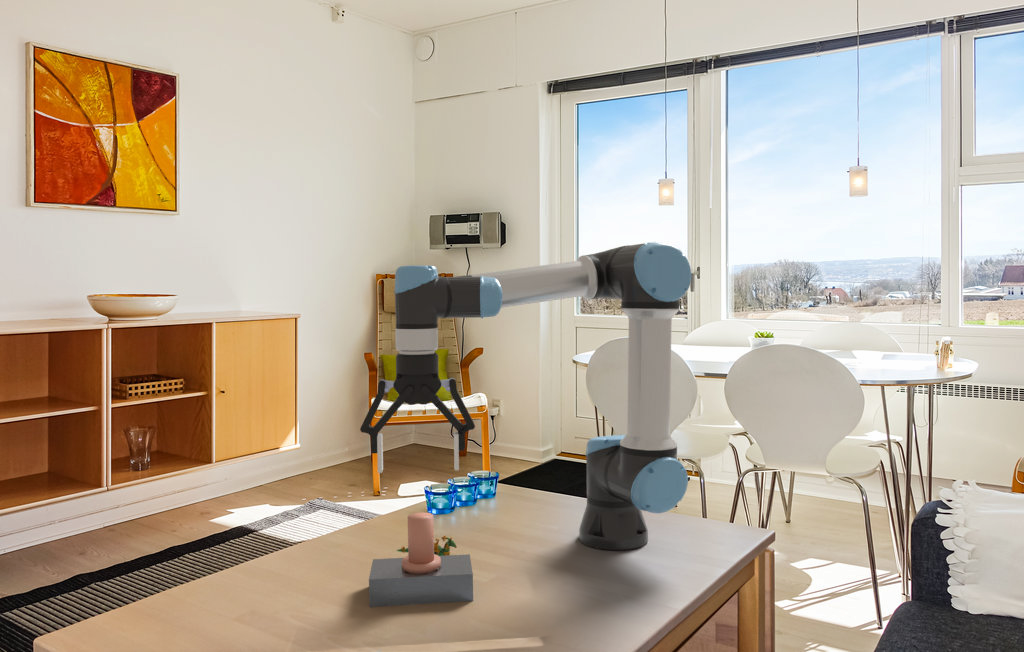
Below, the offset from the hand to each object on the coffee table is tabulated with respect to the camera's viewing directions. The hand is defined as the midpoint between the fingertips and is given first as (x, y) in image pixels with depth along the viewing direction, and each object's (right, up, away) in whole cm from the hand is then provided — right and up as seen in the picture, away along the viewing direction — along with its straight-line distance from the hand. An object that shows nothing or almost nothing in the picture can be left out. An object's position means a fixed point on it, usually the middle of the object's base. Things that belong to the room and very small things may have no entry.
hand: (418, 470), depth 137 cm
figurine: (0, -23, +15) cm, 27 cm away
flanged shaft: (0, -22, +1) cm, 22 cm away
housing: (0, -24, +1) cm, 24 cm away
